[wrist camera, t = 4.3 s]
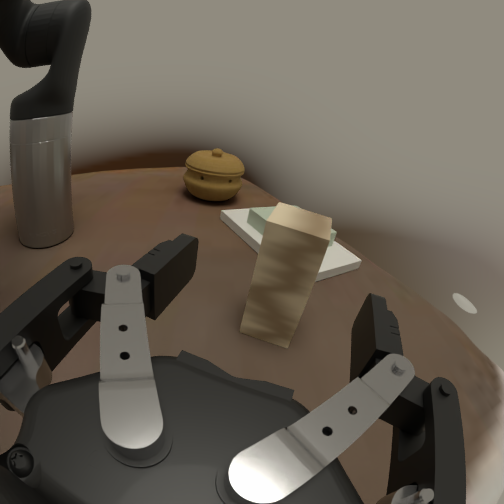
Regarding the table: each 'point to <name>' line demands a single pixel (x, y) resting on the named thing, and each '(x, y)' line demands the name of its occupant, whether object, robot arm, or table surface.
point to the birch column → (285, 273)
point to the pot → (213, 175)
